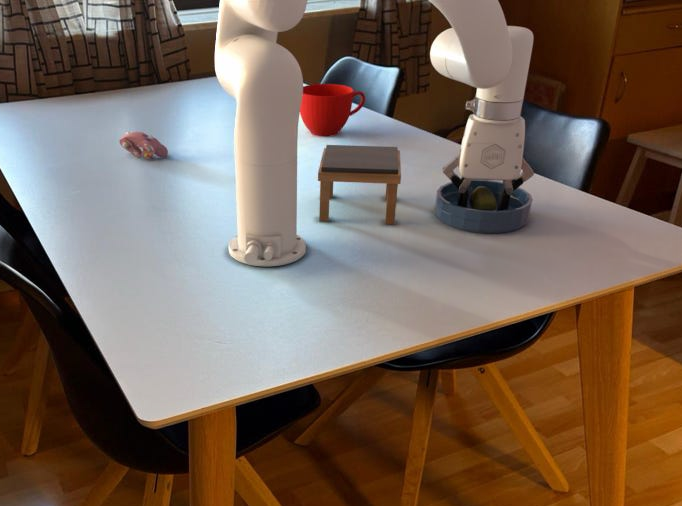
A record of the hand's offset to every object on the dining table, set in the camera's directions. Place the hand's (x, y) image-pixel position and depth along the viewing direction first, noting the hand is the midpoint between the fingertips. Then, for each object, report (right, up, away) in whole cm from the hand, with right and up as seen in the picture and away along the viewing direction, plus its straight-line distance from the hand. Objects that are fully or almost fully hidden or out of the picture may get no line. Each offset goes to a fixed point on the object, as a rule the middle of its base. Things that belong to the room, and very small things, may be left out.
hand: (481, 211), depth 129 cm
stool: (-22, +1, +4) cm, 22 cm away
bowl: (0, -1, 0) cm, 1 cm away
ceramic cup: (-23, +29, +46) cm, 59 cm away
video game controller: (-66, +18, +31) cm, 75 cm away
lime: (0, 0, 0) cm, 1 cm away
